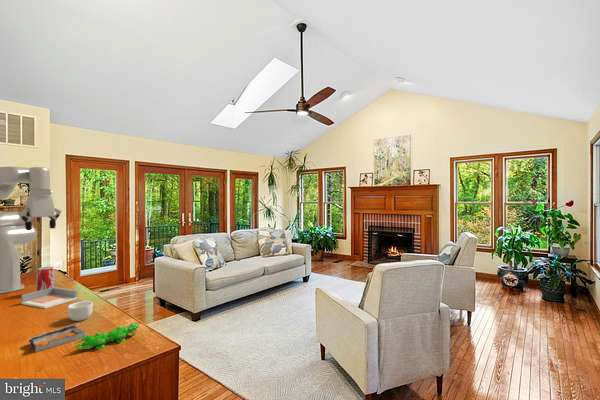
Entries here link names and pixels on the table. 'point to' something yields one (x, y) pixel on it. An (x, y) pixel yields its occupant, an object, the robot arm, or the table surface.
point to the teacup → (80, 310)
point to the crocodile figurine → (106, 337)
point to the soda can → (45, 278)
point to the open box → (49, 297)
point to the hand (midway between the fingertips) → (41, 229)
